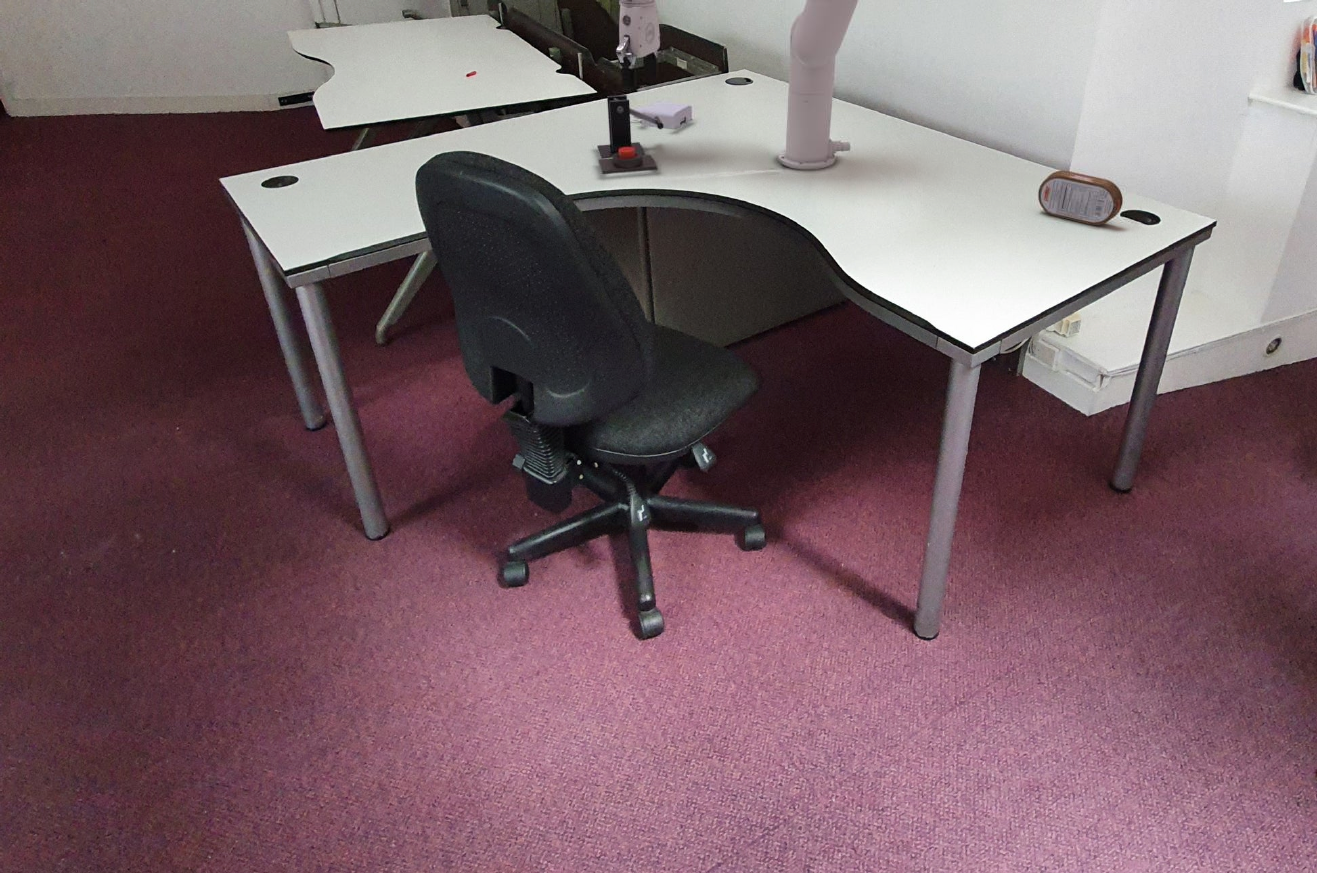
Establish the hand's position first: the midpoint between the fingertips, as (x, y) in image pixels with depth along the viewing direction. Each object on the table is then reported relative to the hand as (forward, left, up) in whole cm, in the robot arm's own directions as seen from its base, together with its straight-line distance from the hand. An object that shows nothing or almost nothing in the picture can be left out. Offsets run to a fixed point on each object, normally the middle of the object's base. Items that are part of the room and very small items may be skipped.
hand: (640, 81), depth 204 cm
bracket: (+4, -5, -17) cm, 19 cm away
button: (+4, +6, -14) cm, 16 cm away
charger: (-8, -26, -18) cm, 33 cm away
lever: (+1, -5, -9) cm, 11 cm away
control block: (+4, +6, -17) cm, 19 cm away
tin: (-75, +55, -18) cm, 94 cm away
